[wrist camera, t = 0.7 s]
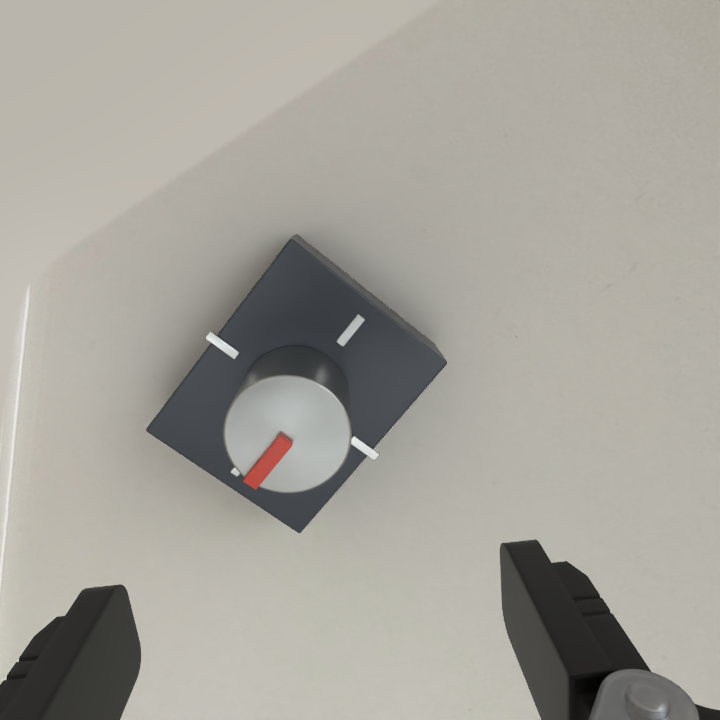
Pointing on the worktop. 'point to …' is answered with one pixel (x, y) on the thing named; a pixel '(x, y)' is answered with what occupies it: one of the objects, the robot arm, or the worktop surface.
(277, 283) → the control panel
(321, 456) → the dial
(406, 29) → the worktop surface
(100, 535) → the worktop surface
